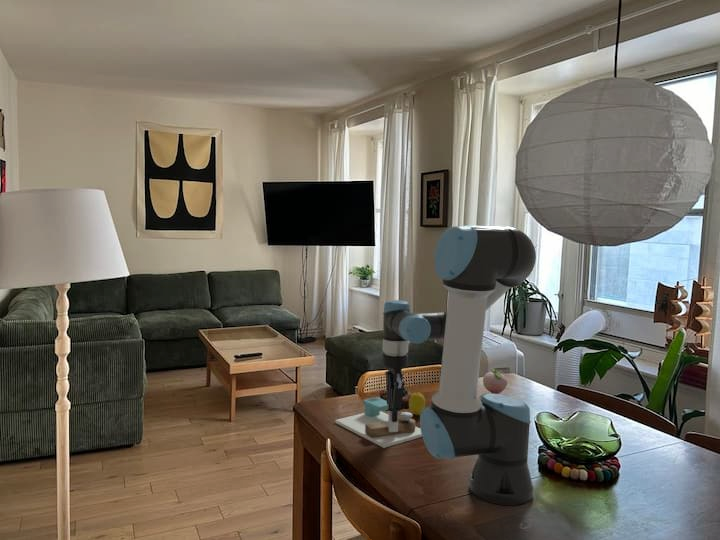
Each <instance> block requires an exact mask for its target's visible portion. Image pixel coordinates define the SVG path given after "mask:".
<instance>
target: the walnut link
mask: <svg viewBox="0 0 720 540" xmlns="http://www.w3.org/2000/svg"><path fill="white" fill-rule="evenodd" d="M415 426H416V420H415V419H414V418H412V417H411V418H410V420H409V421H404V420H403V417H400V418H398V432H389V431H388V421H385V422H379V423H372V424H365V433H366V434H368V435H369V436H370V437H376V436H382V435H389V434H395V433H401V432H413V431H415Z"/></svg>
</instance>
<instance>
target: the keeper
mask: <svg viewBox="0 0 720 540" xmlns="http://www.w3.org/2000/svg"><path fill="white" fill-rule="evenodd" d="M363 405H364V413H365V415H367V416H369V417H372V416H376V415H380V411H382V412H384V411H386V410H387V411H388V409H389V408H388V405H387V401H385V400H383V399H381V398H380V397H378V396H377V397H374V396H373V397H371V398H364V400H363Z"/></svg>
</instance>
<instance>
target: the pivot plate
mask: <svg viewBox="0 0 720 540" xmlns="http://www.w3.org/2000/svg"><path fill="white" fill-rule="evenodd" d="M388 417H389V413H385V412H384V411H380V415H376V416H372V417H369V416H367V415H365V412H362V413H358V414H354V415H349V416H346V417H343V418H339V419H335V424H338V425H339V426H341V427H342V428H345V429H346V430H348V431H351V432H352V433H354V434H356V435H358V436H360V437H362V438H364V439H365V440H368V441H370V442H371V443H373V444H375V445H378V446H379V447H381V448H383V449H385V448H389V447H392V446H396V445H399V444H402V443H405V442H408V441H409V442H410V441H413V440H416V439H420V438H423V437H422V433H421V428H420V427H418V426H416V425H415V431H413V432H401V433H395V434H389V435H382V436H376V437H370V436H369V435H368V434H366V433H365V424H372V423H379V422H385V421H388ZM400 418H403V420H404V421H409V420H410V418H411V419H412V418H413V412H412V413H411V412H409V411H408V412H407V411H404V412H403V411H402V412H400Z"/></svg>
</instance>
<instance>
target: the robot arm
mask: <svg viewBox="0 0 720 540" xmlns="http://www.w3.org/2000/svg"><path fill="white" fill-rule="evenodd" d="M536 252H537V251H536V248H535V245H534V243H533V241H532V239H530V237H529V236H528V235H527V234H526V233H525V232H523V231H522V230H521V229H518V228H516V227H512V226H488V225H487V226H485V225H459V226H451V227H448V228H447V229H446V230H445V231H444V232H443V234H441V235H440V237H439V239H438V241H437V244H436V247H435V250H434V258H433V259H434V261H433V262H434V265H435V269H434V270H435V272H436V274H437V276H438V277H439V278H441V280H442V285H443V287H444V288H445V289H446V291H447V292H448V295H447V304H446V305H447V306H446V311H442V312H441V311H439V312H436V311H435V312H415V313H414V312H411V308H410V303H409V301H406V300H398V299H397V300H396V299H395V300H394V299H392V300H386V302H384V304H383V313H382V315H383V317H382V318H383V322H382V324H383V326H382V327H383V328H382V331H383V332H382V333H383V334H382V352H383V354H382V360H381V361H382V362H381V363H382V364H381V365H382V366H383V367H384V368H386V369H387V370H386V371H385V372H384V374H385V382H386V383H385V384H386V385H385V387H386V388H385V390H386V391H387V405H388V408H389V409H387V412H388V414H389V417H388V431H389V432H398V419H399V414H400V413H399V412H401V410H402V408H401V405H402V396H403V388H404V389H405V381H403V379H404V374H403V372H402V369H406V368H407V367H408V365H409V364H408V363H409V354H408V353H409V345H410V344H411V343H412V344H417V345H418V344H422V343H425V341H428V340H429V341H430V340H443V346H442V347H443V348H442V355H441V356H442V358H441V368H440V379H439V387H438V389H439V390H438V391H437V392H435V393H434V394H432V396H431V404H430V405H431V406H429V407H428V406H427V407H425V409H423V410H422V412H421V413H419V414H420V416H419V428H420V429H421V433H422V437H421V438H422V440H423V442H424V445H425V447H426V449H427V451H428V452H429V453H430V454H431V456H433V457H434V458H436V459H438V460H439V459H440V460H441V459H442V460H443V459H451V460H452V459H454V458H461V457H470V456H477V460H476V461H475V464H474V466H473V469H472V471H471V474H470V477H469V489H470V491H471V493H472V494H473V495H475V496H476V497H477V498H479V499H481V500H482V501H484V502H488V503H491V504H496V505H501V506H502V505H503V506H519V505H524V504H526V503H528V502H530V501H531V500H532V499H533V497H534V484H533V480H532V477H531V472H530V469H529V466H528V455H529V442H530V441H529V440H530V438H529V437H530V425H531V409H530V407H529V405H528V404H527V403H526V402H525V401H523V400H520V399H518V398H516V397H513V396H509V395H505V394H500V393H499V394H493V393H484V394H483V395H481V398H479V397H478V395H477V393H478V385H479V375H480V368H481V367H480V366H481V357H482V349H483V348H482V347H483V342H484V341H483V338H484V331H485V329H484V328H485V320H486V311H488V310H489V308H491V307H492V306H493V305H494V304H495V303H496V302H498V300H499V299H500V298H501V297H503V295H504V294H506V292H508V291H509V289H511V288H517V287H519V286H521V285H522V284H523V283H524V282H525V281H526V280H527V279H528V278H529V276H530V275H531V274H532V272H533V271H534V267H535V265H536V261H537V254H536Z"/></svg>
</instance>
